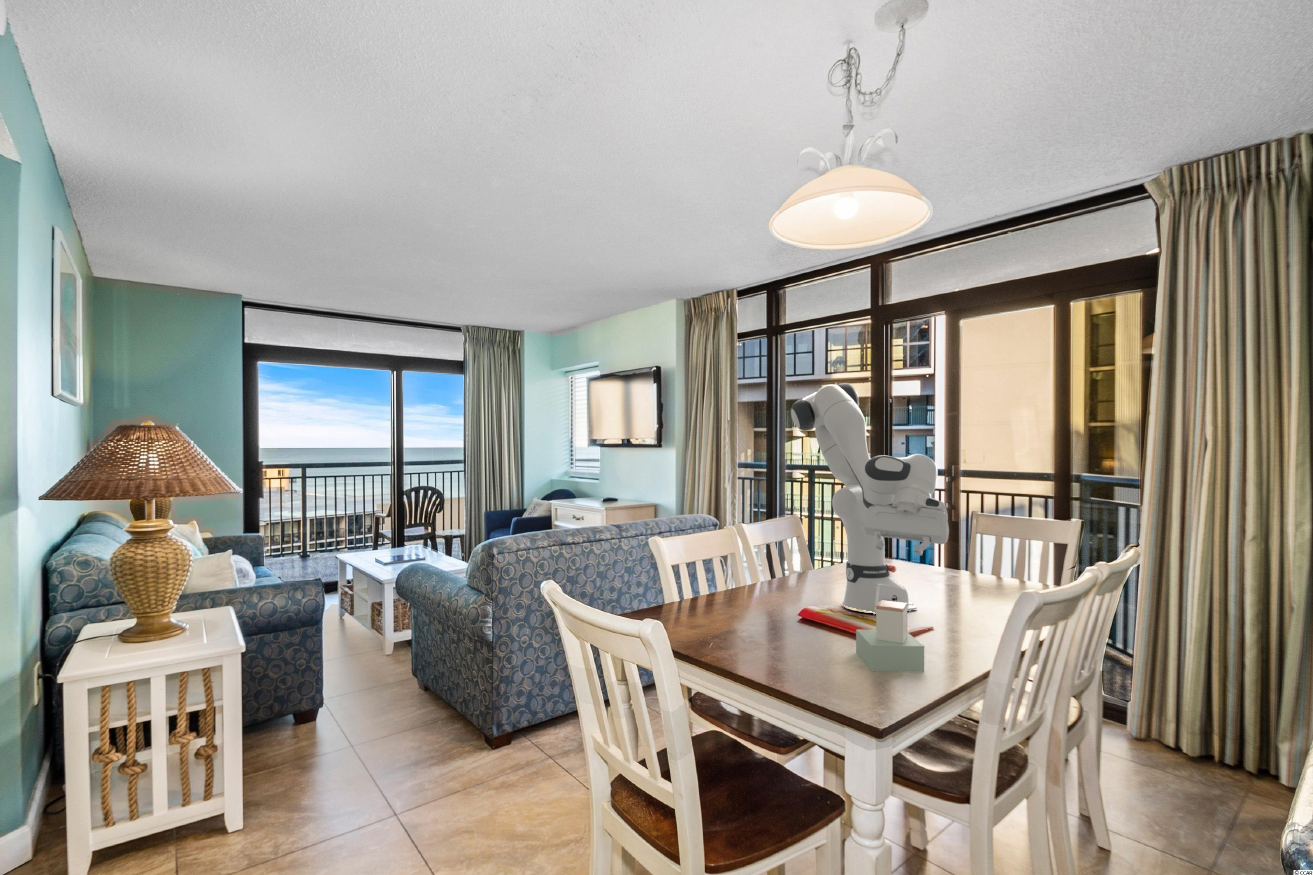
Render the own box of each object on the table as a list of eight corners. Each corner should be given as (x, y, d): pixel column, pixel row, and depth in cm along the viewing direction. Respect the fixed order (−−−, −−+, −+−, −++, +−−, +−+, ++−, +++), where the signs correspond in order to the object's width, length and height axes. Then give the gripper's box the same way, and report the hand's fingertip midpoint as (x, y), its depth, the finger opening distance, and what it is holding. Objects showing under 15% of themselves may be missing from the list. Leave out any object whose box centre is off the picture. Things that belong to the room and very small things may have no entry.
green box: (904, 654, 154) (904, 629, 154) (924, 672, 142) (924, 646, 142) (856, 653, 154) (856, 629, 154) (871, 671, 142) (871, 645, 142)
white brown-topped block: (881, 632, 152) (881, 599, 152) (907, 636, 149) (907, 602, 149) (876, 639, 147) (876, 605, 147) (903, 643, 144) (903, 608, 144)
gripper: (867, 496, 164) (853, 537, 157) (950, 503, 152) (939, 548, 144) (872, 511, 168) (859, 552, 160) (954, 519, 155) (943, 564, 148)
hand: (897, 550), depth 152 cm, fingers open, 8 cm apart
